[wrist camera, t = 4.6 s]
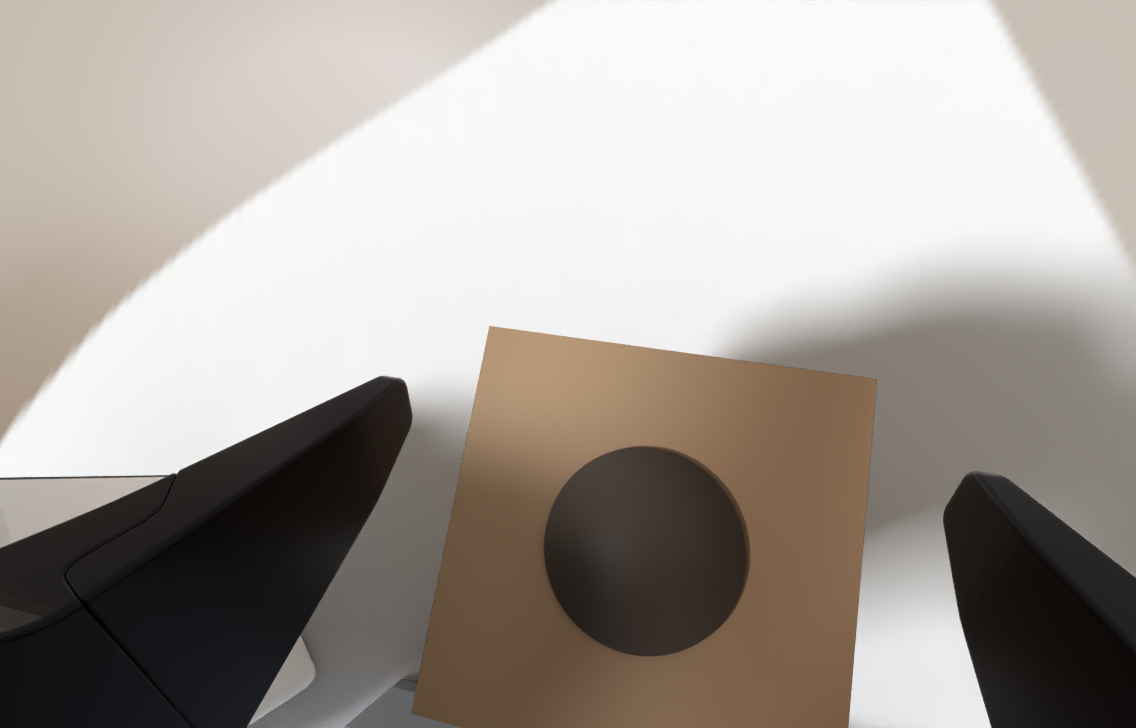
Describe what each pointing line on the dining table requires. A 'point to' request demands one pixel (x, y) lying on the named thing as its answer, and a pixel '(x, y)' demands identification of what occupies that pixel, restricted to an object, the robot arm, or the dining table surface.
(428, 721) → the tray
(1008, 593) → the robot arm
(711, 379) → the wooden block with hole
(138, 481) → the medicine bottle
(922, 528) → the dining table surface
